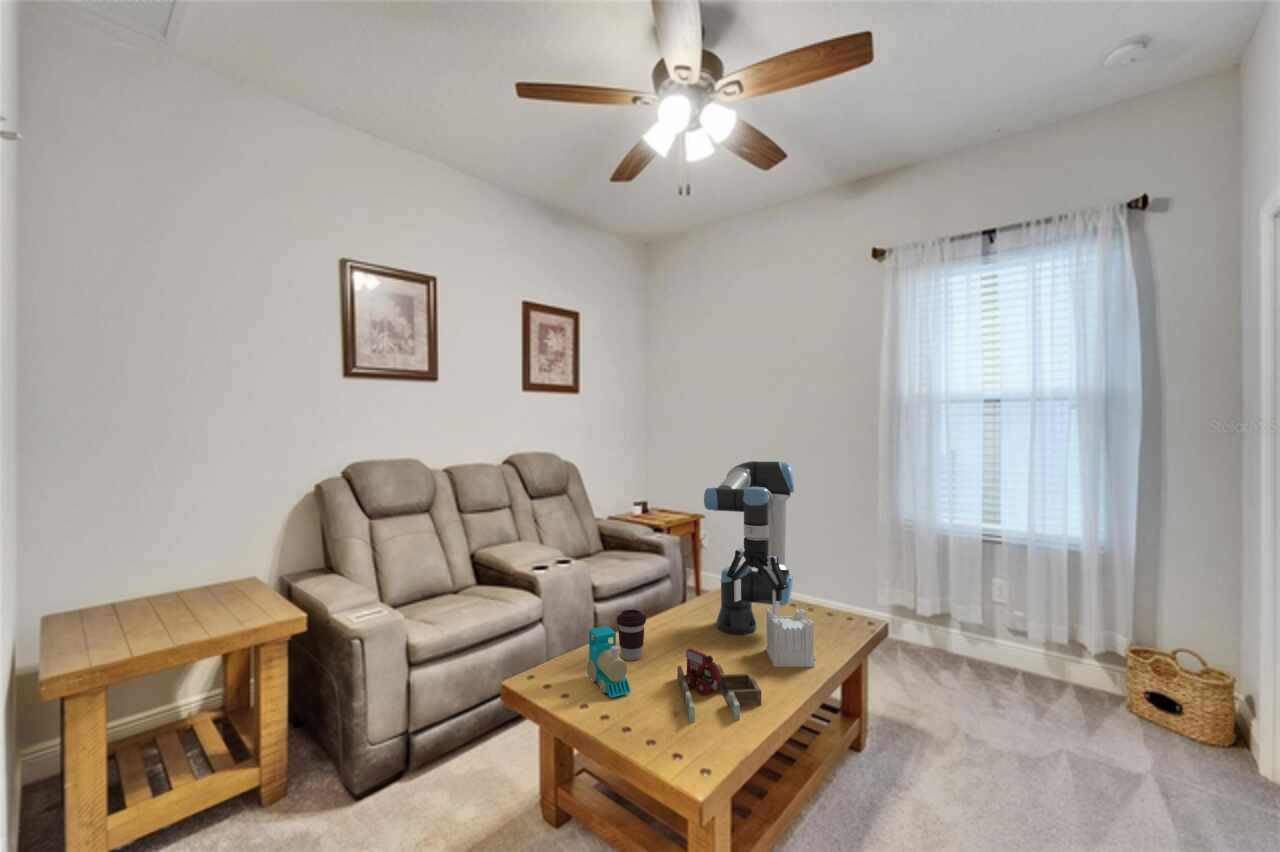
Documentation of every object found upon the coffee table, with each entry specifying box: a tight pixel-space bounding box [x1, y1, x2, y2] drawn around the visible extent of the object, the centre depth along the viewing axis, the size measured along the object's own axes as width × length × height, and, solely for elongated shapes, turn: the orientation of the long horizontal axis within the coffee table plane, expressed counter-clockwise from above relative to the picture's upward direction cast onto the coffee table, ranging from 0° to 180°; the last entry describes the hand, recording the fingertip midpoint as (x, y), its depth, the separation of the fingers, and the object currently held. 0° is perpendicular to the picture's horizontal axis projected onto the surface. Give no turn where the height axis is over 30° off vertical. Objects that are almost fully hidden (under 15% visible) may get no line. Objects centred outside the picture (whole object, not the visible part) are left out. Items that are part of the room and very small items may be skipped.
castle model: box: [765, 608, 817, 668], centre depth 182 cm, size 13×15×14 cm
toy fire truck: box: [684, 647, 721, 696], centre depth 163 cm, size 7×12×10 cm, turn 44°
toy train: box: [586, 625, 631, 698], centre depth 165 cm, size 8×17×15 cm, turn 27°
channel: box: [676, 663, 741, 723], centre depth 157 cm, size 24×13×4 cm, turn 4°
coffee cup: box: [616, 609, 647, 662], centre depth 184 cm, size 10×10×15 cm
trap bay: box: [721, 673, 762, 707], centre depth 158 cm, size 10×9×4 cm
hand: (756, 605), depth 168 cm, fingers open, 13 cm apart
